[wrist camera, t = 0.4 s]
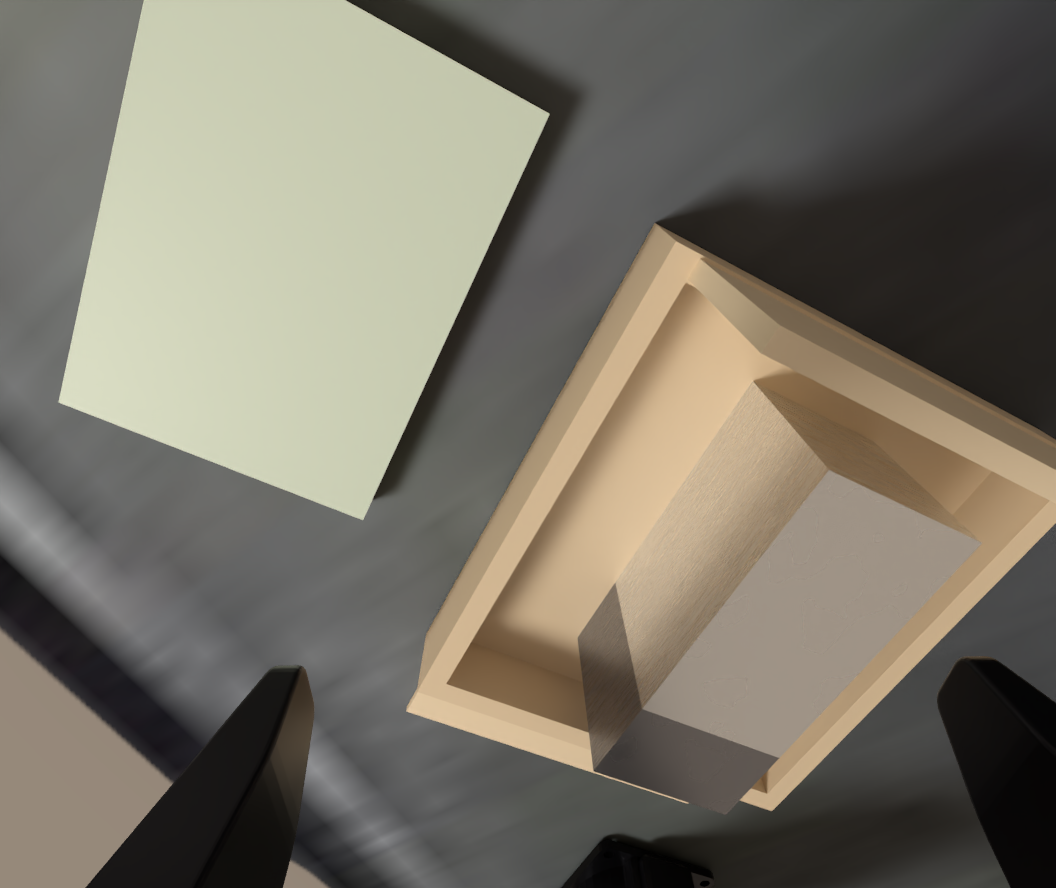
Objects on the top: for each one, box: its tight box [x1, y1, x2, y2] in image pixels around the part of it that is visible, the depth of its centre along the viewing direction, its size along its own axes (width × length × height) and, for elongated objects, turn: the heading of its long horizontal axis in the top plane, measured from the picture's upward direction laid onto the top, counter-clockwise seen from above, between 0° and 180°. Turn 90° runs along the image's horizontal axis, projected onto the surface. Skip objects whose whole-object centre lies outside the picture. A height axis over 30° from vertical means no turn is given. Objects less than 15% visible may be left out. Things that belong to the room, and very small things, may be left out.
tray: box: [407, 223, 1056, 811], centre depth 22 cm, size 22×16×9 cm
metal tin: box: [578, 381, 982, 815], centre depth 22 cm, size 12×5×6 cm, turn 154°
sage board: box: [59, 0, 550, 520], centre depth 20 cm, size 14×10×1 cm
